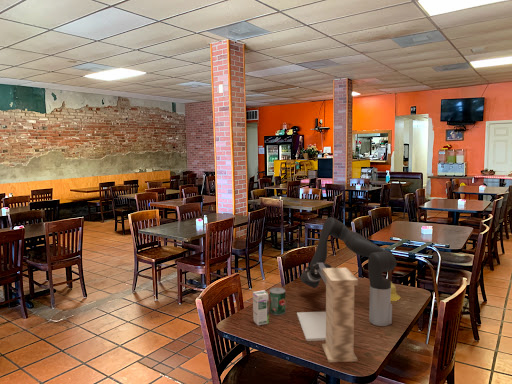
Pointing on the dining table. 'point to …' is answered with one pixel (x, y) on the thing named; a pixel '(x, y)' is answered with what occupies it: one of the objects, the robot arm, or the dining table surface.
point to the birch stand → (339, 314)
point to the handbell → (393, 288)
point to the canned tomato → (277, 301)
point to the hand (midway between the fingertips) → (322, 265)
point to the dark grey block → (321, 271)
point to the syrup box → (261, 307)
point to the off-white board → (313, 325)
